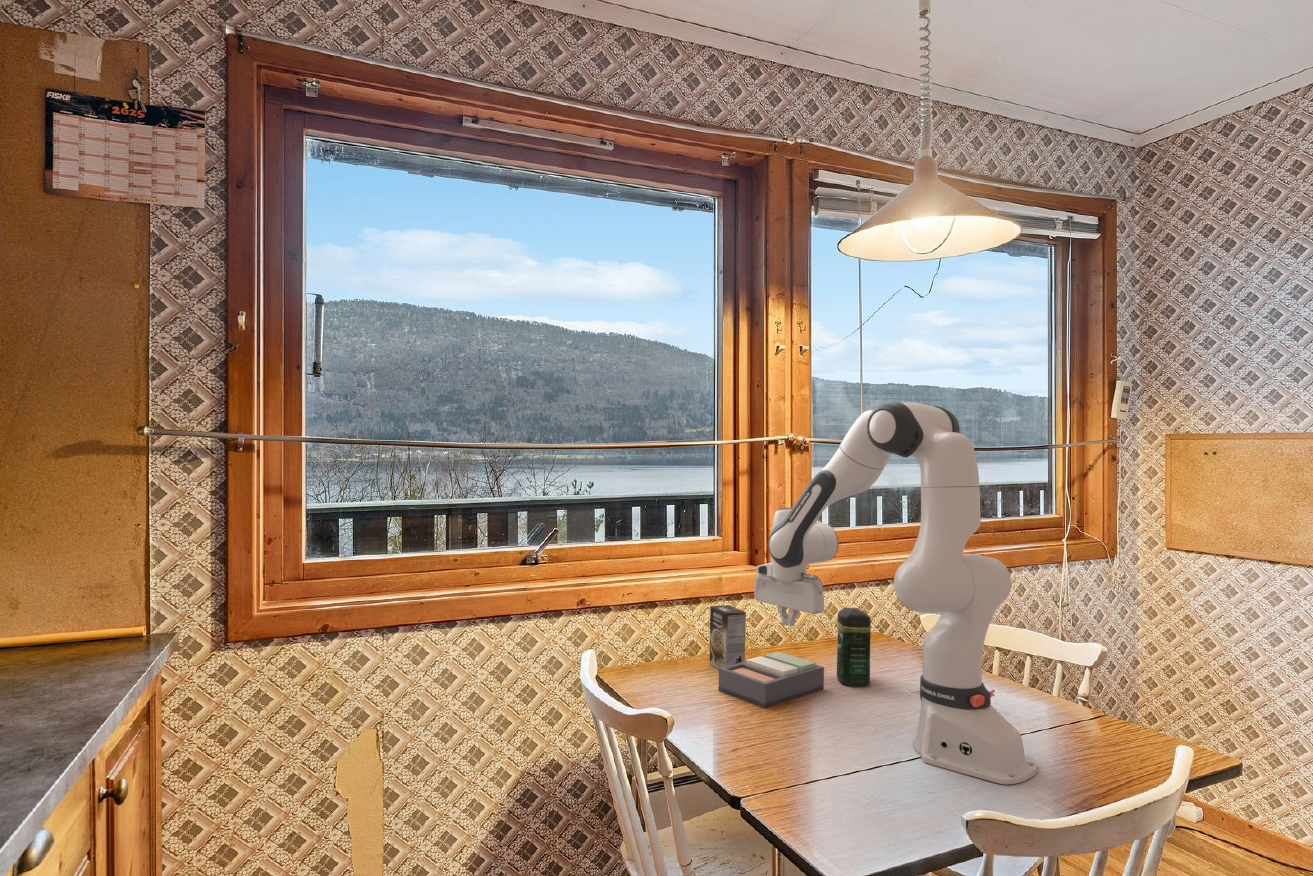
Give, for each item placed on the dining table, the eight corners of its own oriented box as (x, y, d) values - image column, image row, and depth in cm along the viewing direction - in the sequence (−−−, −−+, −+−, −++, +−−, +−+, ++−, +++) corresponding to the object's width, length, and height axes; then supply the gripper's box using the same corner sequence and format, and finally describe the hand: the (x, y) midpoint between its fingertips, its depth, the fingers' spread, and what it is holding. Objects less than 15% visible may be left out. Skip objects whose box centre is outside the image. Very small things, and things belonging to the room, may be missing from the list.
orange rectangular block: (779, 692, 174) (779, 680, 174) (764, 697, 171) (764, 684, 171) (741, 679, 183) (742, 667, 183) (727, 683, 180) (727, 671, 180)
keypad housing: (823, 689, 182) (823, 667, 182) (764, 708, 168) (765, 684, 169) (777, 673, 194) (777, 653, 194) (718, 690, 180) (718, 668, 180)
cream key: (797, 680, 178) (797, 667, 178) (783, 684, 175) (783, 671, 175) (760, 667, 188) (760, 656, 188) (746, 671, 184) (746, 659, 184)
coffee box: (708, 664, 202) (709, 606, 202) (728, 662, 204) (729, 604, 205) (725, 674, 193) (725, 613, 194) (745, 671, 196) (746, 611, 196)
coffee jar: (873, 688, 184) (874, 614, 184) (841, 687, 184) (842, 613, 184) (863, 676, 194) (864, 605, 194) (833, 675, 194) (834, 605, 194)
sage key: (815, 674, 183) (815, 662, 183) (801, 678, 179) (802, 666, 179) (777, 663, 192) (778, 651, 192) (764, 666, 189) (764, 655, 189)
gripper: (830, 575, 180) (829, 631, 180) (766, 563, 195) (766, 615, 195) (814, 578, 176) (813, 635, 175) (750, 566, 191) (750, 619, 191)
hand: (788, 625), depth 185 cm, fingers closed
